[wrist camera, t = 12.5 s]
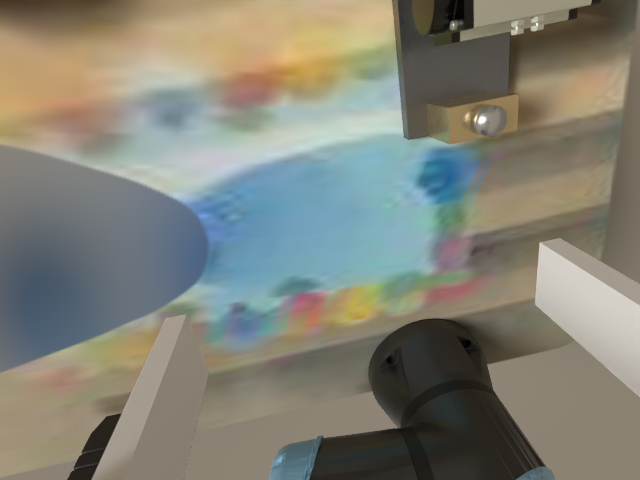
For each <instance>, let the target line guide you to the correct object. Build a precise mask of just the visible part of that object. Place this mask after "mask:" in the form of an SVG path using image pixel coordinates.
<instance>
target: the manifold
mask: <svg viewBox="0 0 640 480" xmlns="http://www.w3.org/2000/svg"><path fill="white" fill-rule="evenodd" d="M392 2H393V14H394V25H395V37H396V49H397V61H398V73H399V84H400V96H401V108H402V120H403V131H404V138H406V139H408V140H410V139H415V138H420V137H425V136H431V137H433V138H435V139H438V140H440V141H443V142H445V143H448V144H454V143H459V142H464V141H469V140H473V139H478V138H483V137H493V136H496V135H498V134H503V133H508V132H513V131H517V128H518V102H519V94H514V93H508V87H509V50H510V32H506V33H501V34H496V35H491V36H486V37H481V38H476V39H471V40H466V41H461V42H456V43H451V44H446V45H440V46H434V38H429V37H428V36H423V35H421V34H420V33H419V31H418V30H417V27H416V24H415V21H414V16H413V9H412V0H392Z"/></svg>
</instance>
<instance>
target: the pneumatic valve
mask: <svg viewBox="0 0 640 480" xmlns="http://www.w3.org/2000/svg"><path fill="white" fill-rule="evenodd" d="M600 1H601V0H412V9H413V16H414V21H415V24H416V27H417V30H418V31H419V33H420V34H421V35H423V36H428V37H429V38H434V46H440V45H446V44H451V43H456V42H461V41H466V40H471V39H476V38H481V37H486V36H491V35H496V34H501V33H506V32H511V36H512V35H518V34H523V33H524V29H525V28H530V27H531V32H532V31H537V30H542V29H544V25H545V24H550V23H555V22H560V21H565V20H570V19H575V18H577V9H578V8H579V7H584V6H589V5H593V4H598V3H600Z"/></svg>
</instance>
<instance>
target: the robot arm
mask: <svg viewBox="0 0 640 480" xmlns="http://www.w3.org/2000/svg"><path fill="white" fill-rule="evenodd" d="M535 305H536V306H537V307H539V308H540V309H541V310H542V311H543V312H544V313H545V314H546V315H548V316H549V317H550V318H551V319H552V320H553V321H554V322H555V323H557V324H558V325H559V326H560V327H561V328H562V329H563V330H564V331H566V332H567V333H568V334H569V335H570V336H571V337H572V338H574V339H575V340H576V341H577V342H578V343H580V345H581V346H583V347H584V348H585V349H586V350H587V351H588V352H589V353H590V354H592V355H593V356H594V357H595V358H596V359H597V360H598V361H599V362H601V363H602V364H603V365H604V366H605V367H606V368H607V369H609V370H610V371H611V372H612V373H613V374H614V375H615V376H616V377H618V378H619V379H620V380H621V381H622V382H623V383H624V384H626V385H627V386H628V387H629V388H630V389H631V390H632V391H633V392H635V393H636V394H637V395H638V396H639V397H640V284H639V283H637V282H635V281H633V280H632V279H630V278H628V277H626V276H624V275H623V274H621V273H619V272H618V271H616V270H614V269H612V268H611V267H609V266H607V265H605V264H604V263H602V262H600V261H599V260H597V259H595V258H593V257H592V256H590V255H588V254H586V253H585V252H583V251H581V250H579V249H578V248H576V247H574V246H572V245H571V244H569V243H567V242H565V241H564V240H562V239H560V238H559V239H554V240H549V241H544V242H540V246H539V259H538V271H537V284H536V297H535ZM208 374H209V371H208V368H207V366H206V363H205V361H204V358H203V355H202V353H201V350H200V347H199V345H198V342H197V340H196V337H195V334H194V332H193V329H192V327H191V324H190V321H189V319H188V316H187V314H185V315H180V316H175V317H170V318H165V321H164V323H163V325H162V327H161V329H160V332H159V334H158V336H157V338H156V340H155V342H154V345H153V347H152V349H151V351H150V353H149V356H148V358H147V360H146V362H145V364H144V366H143V369H142V371H141V373H140V375H139V377H138V380H137V382H136V384H135V386H134V388H133V390H132V393H131V395H130V397H129V399H128V401H127V404H126V406H125V408H124V410H123V412H122V413H121V414H117V415H112V416H107V417H106V418H105V419H104V420H103V421H102V422H101V423H100V424H99V426H98V427H97V428H96V429H95V430H94V431H93V432H92V433H91V435H90V437H89V439H88V441H87V443H86V445H85V447H84V449H83V450H82V455H81V456H79V458H78V460H77V462H76V464H75V466H74V471H72V472H71V474H70V476H69V478H68V479H67V480H184V478H185V474H186V469H187V465H188V461H189V456H190V452H191V448H192V443H193V439H194V435H195V430H196V426H197V422H198V417H199V413H200V409H201V404H202V400H203V395H204V391H205V387H206V382H207V378H208ZM369 381H370V384H371V387H372V391H373V394H374V396H375V398H376V400H377V402H378V403H379V405H380V406H381V407H382V409H384V411H385V412H386V414H387V415H388V416H389V417H390V418H391V420H392V421H393V422H394V424H395V425H396V426H397V427H398V428H397V429H395V428H394V429H387V430H380V431H373V432H366V433H359V434H352V435H345V436H336V437H328V438H323V436H318V437H317V438H316V439H312V440H308V441H302V442H297V443H291V444H288V445H286V446H284V447H283V448H282V449H280V450H279V452H278V453H277V455H276V456H275V459H274V461H273V464H272V467H271V472H270V477H269V480H555V478H554V474H553V473H552V471H551V470H550V469H548V468H547V467H546V465H545V464H544V463H543V461H542V460H541V458H540V457H539V455H538V454H537V453H536V451H535V450H534V448H533V447H532V445H531V444H530V442H529V441H528V440H527V438H526V437H525V435H524V434H523V432H522V431H521V430H520V428H519V427H518V425H517V424H516V422H515V421H514V420H513V418H512V417H511V415H510V414H509V413H508V411H507V409H506V408H505V407H504V405H503V404H502V402H501V401H500V400H499V398H498V397H497V395H496V394H495V392H494V391H493V388H492V383H491V379H490V375H489V371H488V367H487V363H486V359H485V356H484V353H483V351H482V349H481V347H480V345H479V344H478V343H477V341H476V340H475V339H474V337H473V336H472V335H471V334H470V332H469V331H467V330H466V329H465V328H464V327H462V326H460V325H458V324H456V323H454V322H451V321H446V320H439V319H431V320H422V321H418V322H414V323H411V324H408V325H406V326H404V327H402V328H400V329H398V330H396V331H395V332H393V333H392V334H390V335H389V336H388V337H387V338H386V339H385V340H384V341H383V342H382V343H381V344H380V345H379V346H378V348H377V349H376V351H375V352H374V354H373V356H372V358H371V361H370V365H369Z"/></svg>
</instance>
